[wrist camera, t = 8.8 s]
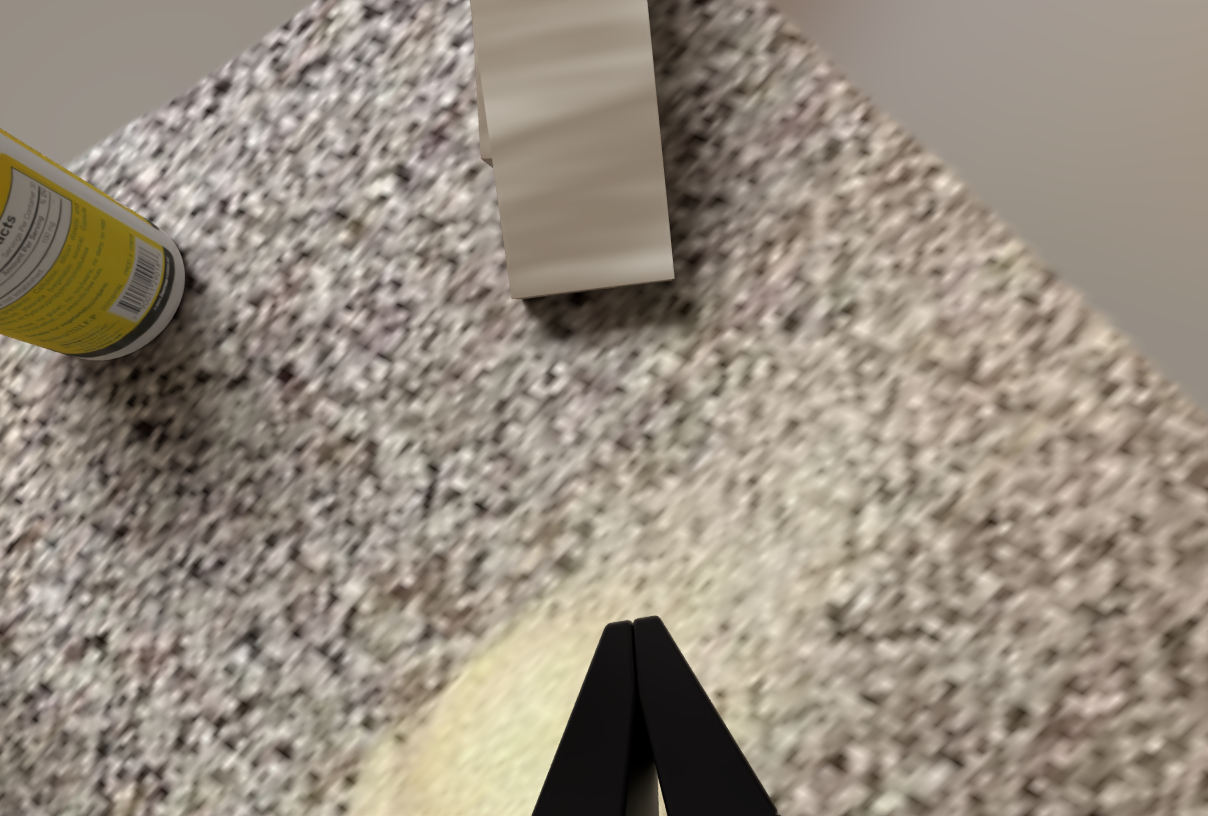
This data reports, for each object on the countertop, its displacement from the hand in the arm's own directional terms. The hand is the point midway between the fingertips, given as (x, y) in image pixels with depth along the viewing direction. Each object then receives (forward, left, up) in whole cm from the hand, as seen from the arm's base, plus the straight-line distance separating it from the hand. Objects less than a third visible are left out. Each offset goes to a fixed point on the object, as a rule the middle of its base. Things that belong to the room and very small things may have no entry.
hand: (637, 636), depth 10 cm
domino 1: (+8, -5, -8) cm, 12 cm away
